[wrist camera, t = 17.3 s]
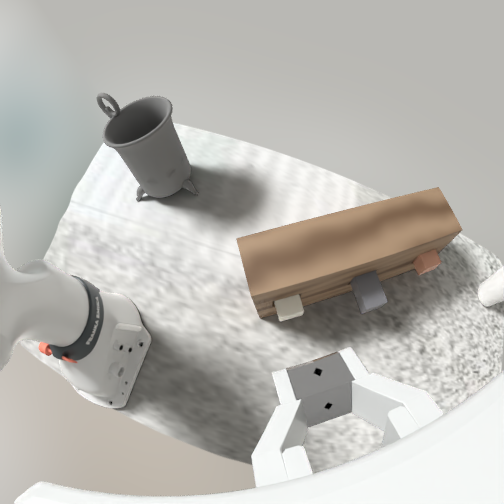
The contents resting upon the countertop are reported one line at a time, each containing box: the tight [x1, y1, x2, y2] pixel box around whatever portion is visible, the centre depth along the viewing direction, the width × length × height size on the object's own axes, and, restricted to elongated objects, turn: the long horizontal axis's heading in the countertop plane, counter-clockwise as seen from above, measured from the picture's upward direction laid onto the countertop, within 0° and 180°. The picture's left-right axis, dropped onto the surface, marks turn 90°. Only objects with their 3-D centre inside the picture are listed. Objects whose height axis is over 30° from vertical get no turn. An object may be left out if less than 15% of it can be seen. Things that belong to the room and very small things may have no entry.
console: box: [237, 187, 462, 318], centre depth 42 cm, size 8×33×14 cm, turn 104°
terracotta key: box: [413, 249, 441, 276], centre depth 41 cm, size 6×4×3 cm, turn 14°
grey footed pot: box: [97, 93, 199, 201], centre depth 50 cm, size 19×15×25 cm
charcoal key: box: [350, 270, 388, 314], centre depth 40 cm, size 6×4×3 cm, turn 14°
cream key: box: [274, 294, 304, 322], centre depth 41 cm, size 6×4×3 cm, turn 14°
